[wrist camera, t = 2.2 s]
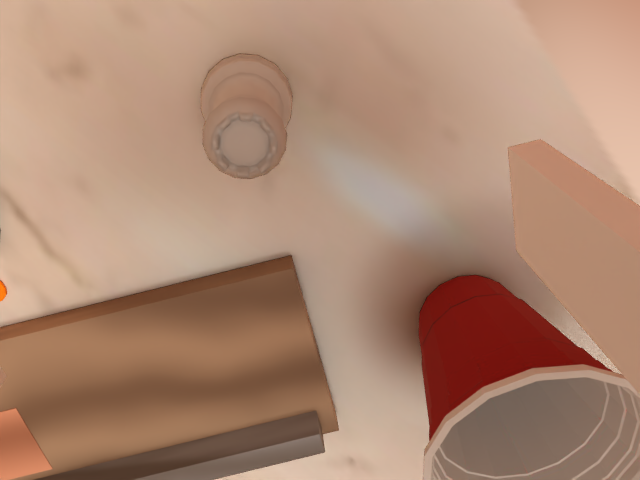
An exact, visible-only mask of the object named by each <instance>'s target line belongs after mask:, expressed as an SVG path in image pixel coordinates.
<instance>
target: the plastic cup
mask: <svg viewBox="0 0 640 480" xmlns="http://www.w3.org/2000/svg"><path fill="white" fill-rule="evenodd" d="M419 340H420V346H421V352H422V371H423V378H424V386H425V394H426V402H427V410H428V417H429V425H430V428H429V443H428V445H427V446H426V448H425V452H424V468H423V480H640V394H639V393H638V392H637V391H636V390H635V388H634V387H633V386H632V385H631V384H630V383H629V381H628V380H627V379H626V378H625V377H624V376H623V375H622V374H618V373H615V372H613V371H612V370H610V369H608V368H607V367H605V366H604V365H603V364H602V363H601V362H600V361H598V360H595V359H594V358H593V357H592V356H591V355H590V354H589V353H587V352H586V351H585V350H584V349H583V348H580V347H578V346H576V345H575V344H574V343H573V342H572V341H570V340H569V339H568V338H567V337H566V336H565V335H563V334H562V333H561V332H560V331H559V330H557V329H556V328H555V327H554V326H553V325H551V324H550V323H549V322H548V321H547V320H546V319H544V318H543V317H542V316H541V315H540V314H538V313H537V312H536V311H535V310H534V309H533V308H531V307H530V306H529V305H528V304H527V303H525V302H524V301H523V300H521V299H518V298H517V297H515V296H514V295H513V294H512V293H511V292H509V291H508V290H507V289H506V288H505V287H503V286H502V285H501V284H500V283H499V282H495V281H494V280H492V279H489V278H485V277H482V276H478V275H470V276H460V277H456V278H454V279H452V280H449V281H447V282H445V283H443V284H441V285H439V286H438V287H437V288H436V289H435V290H434V291H433V292H432V293H431V294H430V295H429V296H428V297H427V298H426V300H425V302H424V304H423V307H422V309H421V311H420V317H419Z"/></svg>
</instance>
